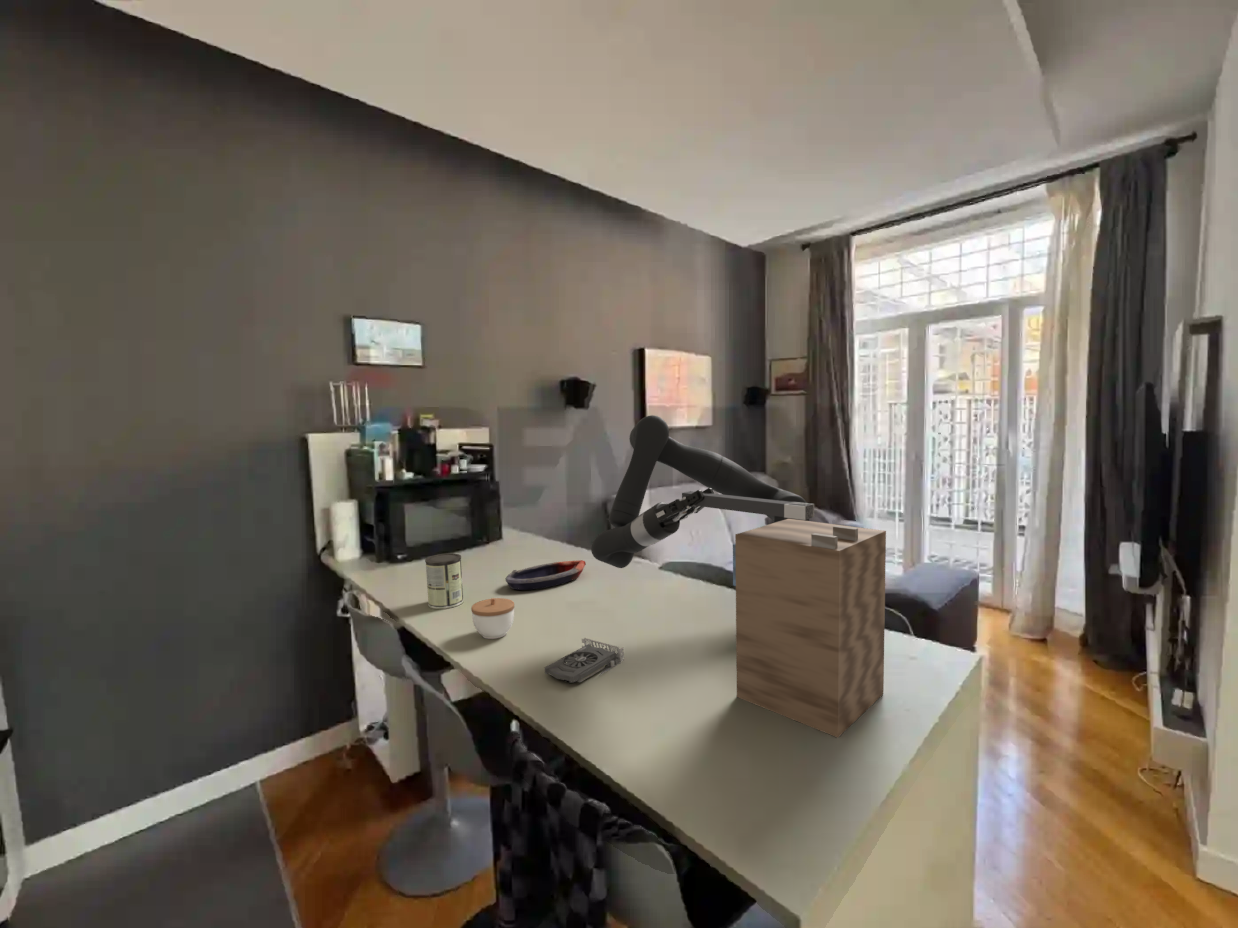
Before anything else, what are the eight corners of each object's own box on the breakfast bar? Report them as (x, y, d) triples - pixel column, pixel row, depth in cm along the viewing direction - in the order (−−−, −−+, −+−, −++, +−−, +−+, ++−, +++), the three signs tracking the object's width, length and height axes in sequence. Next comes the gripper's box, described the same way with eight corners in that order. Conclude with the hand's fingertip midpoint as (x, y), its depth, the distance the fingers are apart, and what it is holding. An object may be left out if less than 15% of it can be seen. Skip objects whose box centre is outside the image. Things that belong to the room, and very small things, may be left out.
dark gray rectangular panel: (691, 502, 120) (691, 491, 120) (814, 517, 100) (814, 504, 100) (681, 504, 118) (681, 492, 117) (804, 520, 98) (804, 506, 97)
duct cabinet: (785, 661, 122) (785, 509, 119) (883, 693, 107) (886, 520, 104) (734, 695, 108) (732, 523, 105) (837, 737, 93) (839, 538, 90)
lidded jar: (491, 646, 134) (489, 608, 134) (463, 636, 141) (462, 600, 140) (524, 631, 143) (522, 596, 142) (496, 623, 149) (495, 589, 149)
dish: (496, 586, 183) (495, 571, 183) (574, 568, 202) (574, 555, 201) (518, 597, 171) (517, 581, 170) (599, 578, 189) (598, 563, 189)
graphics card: (584, 635, 132) (624, 646, 125) (585, 650, 132) (625, 662, 125) (532, 661, 119) (573, 675, 111) (533, 678, 119) (574, 693, 112)
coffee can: (436, 597, 172) (434, 553, 171) (468, 597, 171) (466, 553, 170) (421, 609, 162) (418, 561, 161) (455, 609, 161) (453, 562, 160)
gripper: (626, 514, 122) (678, 480, 111) (668, 505, 132) (719, 473, 121) (639, 545, 120) (693, 514, 109) (681, 534, 130) (734, 504, 118)
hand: (707, 493), depth 115 cm, fingers closed on dark gray rectangular panel, 3 cm apart
